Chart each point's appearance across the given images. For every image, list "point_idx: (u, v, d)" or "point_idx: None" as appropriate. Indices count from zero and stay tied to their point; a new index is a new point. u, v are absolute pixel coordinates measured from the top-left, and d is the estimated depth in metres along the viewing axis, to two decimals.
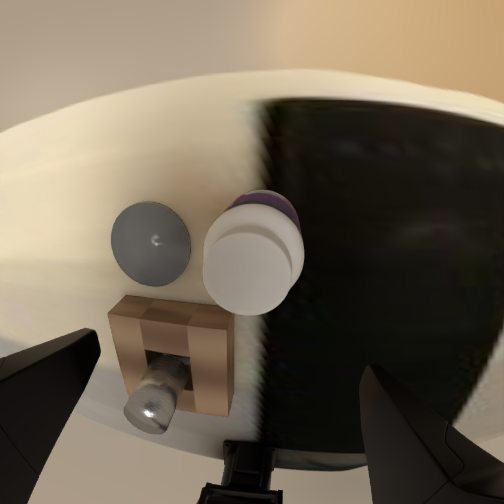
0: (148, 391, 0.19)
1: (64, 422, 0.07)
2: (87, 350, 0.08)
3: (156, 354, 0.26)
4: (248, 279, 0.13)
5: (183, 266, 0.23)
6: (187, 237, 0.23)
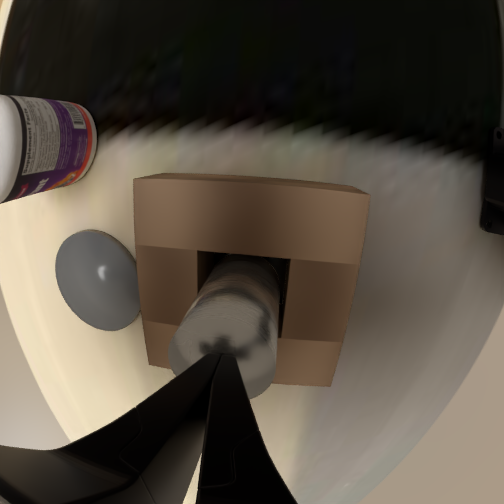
0: None
1: (196, 463, 0.06)
2: None
3: None
4: None
5: (106, 241, 0.16)
6: (79, 232, 0.17)
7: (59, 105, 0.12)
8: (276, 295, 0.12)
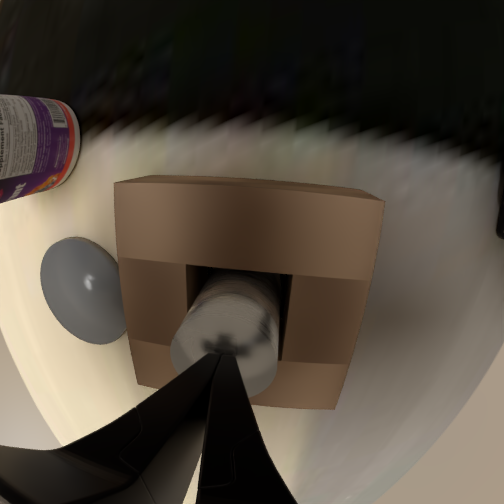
0: None
1: (196, 464, 0.06)
2: None
3: None
4: None
5: (91, 250, 0.15)
6: (63, 239, 0.15)
7: (38, 102, 0.10)
8: (277, 293, 0.12)
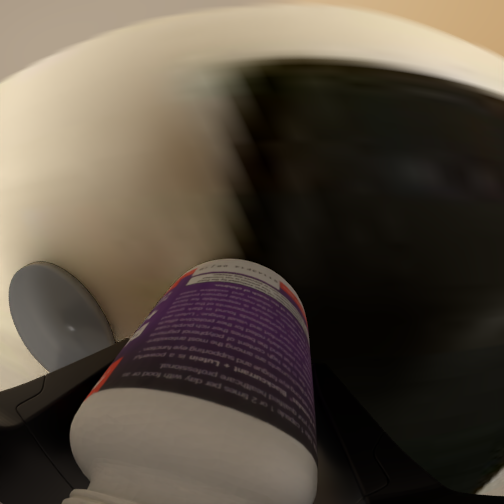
0: None
1: None
2: None
3: None
4: None
5: None
6: (105, 329, 0.12)
7: None
8: None
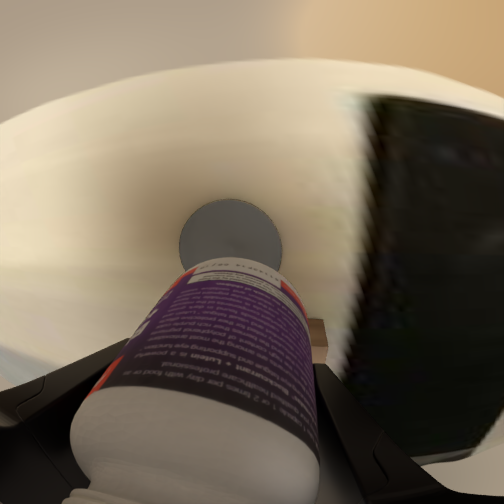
0: None
1: None
2: None
3: None
4: None
5: None
6: (280, 242, 0.20)
7: None
8: None
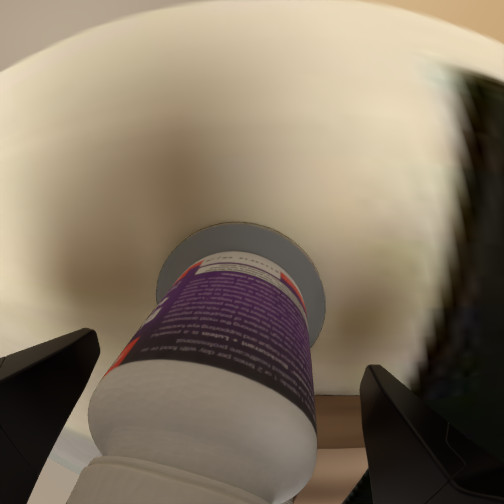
0: None
1: (64, 421, 0.07)
2: (87, 350, 0.08)
3: None
4: None
5: None
6: (324, 297, 0.12)
7: None
8: None
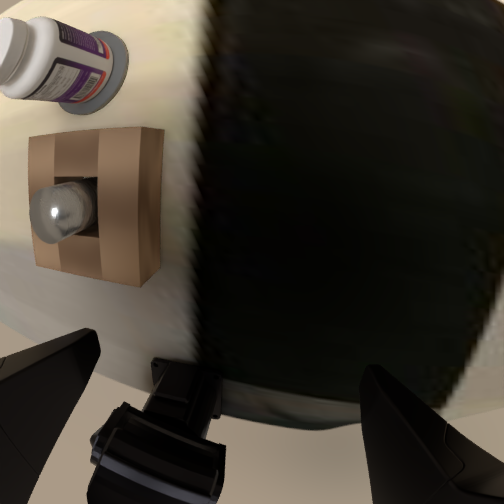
0: (60, 184, 0.15)
1: (64, 422, 0.07)
2: (87, 350, 0.08)
3: None
4: None
5: (115, 83, 0.17)
6: (125, 54, 0.16)
7: (81, 83, 0.14)
8: None
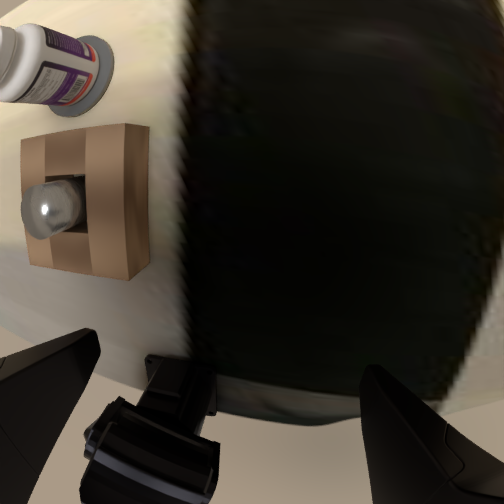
0: (50, 182, 0.15)
1: (64, 422, 0.07)
2: (87, 350, 0.08)
3: None
4: None
5: (102, 85, 0.17)
6: (111, 57, 0.17)
7: (68, 85, 0.15)
8: (81, 222, 0.19)
